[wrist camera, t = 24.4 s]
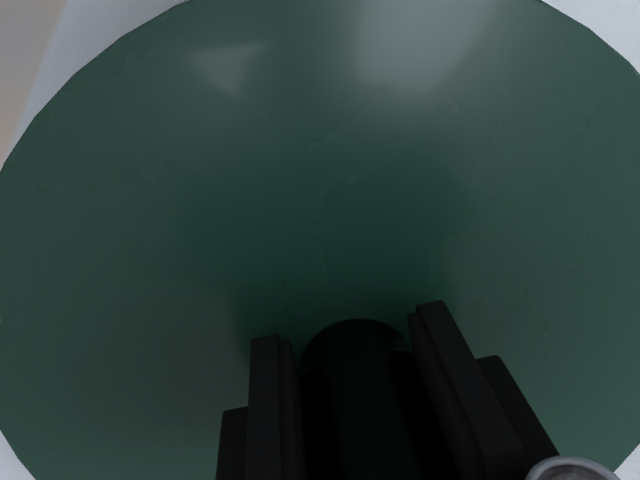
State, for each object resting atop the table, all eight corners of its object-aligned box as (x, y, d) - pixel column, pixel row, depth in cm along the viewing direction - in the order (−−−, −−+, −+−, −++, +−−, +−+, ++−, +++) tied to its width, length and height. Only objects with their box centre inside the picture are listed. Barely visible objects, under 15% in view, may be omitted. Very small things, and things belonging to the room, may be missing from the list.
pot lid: (-87, 454, 13) (-375, 845, 7) (167, -247, 8) (-91, -829, 2) (432, 603, 18) (518, 927, 12) (813, 200, 13) (1315, 407, 7)
